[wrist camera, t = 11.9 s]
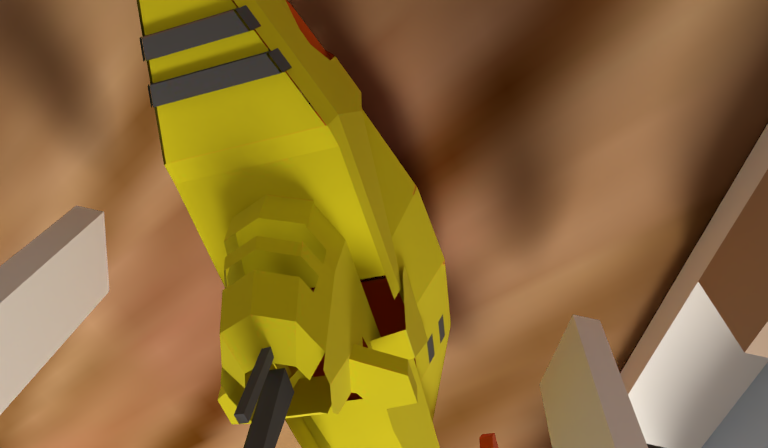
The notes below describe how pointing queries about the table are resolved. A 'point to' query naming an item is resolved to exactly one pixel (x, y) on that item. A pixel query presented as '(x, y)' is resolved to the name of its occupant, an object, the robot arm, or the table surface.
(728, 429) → the block
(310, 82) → the toy boat
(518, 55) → the table surface
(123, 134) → the table surface
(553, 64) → the table surface
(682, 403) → the jig
